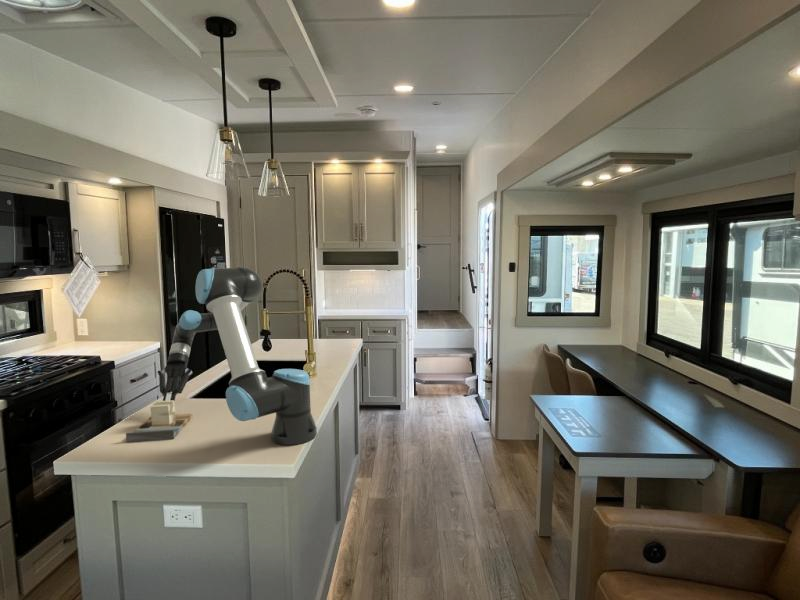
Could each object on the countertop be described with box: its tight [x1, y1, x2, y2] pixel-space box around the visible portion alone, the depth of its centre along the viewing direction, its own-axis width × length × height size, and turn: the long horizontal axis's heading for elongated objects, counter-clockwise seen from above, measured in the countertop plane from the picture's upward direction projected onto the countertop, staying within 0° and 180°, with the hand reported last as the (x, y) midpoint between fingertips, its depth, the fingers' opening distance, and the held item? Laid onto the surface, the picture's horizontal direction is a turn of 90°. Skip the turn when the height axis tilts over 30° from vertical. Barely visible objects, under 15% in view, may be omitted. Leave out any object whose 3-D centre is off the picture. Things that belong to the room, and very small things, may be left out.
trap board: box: [125, 413, 194, 443], centre depth 161 cm, size 20×15×3 cm
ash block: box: [150, 400, 176, 426], centre depth 164 cm, size 6×6×7 cm
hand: (166, 409), depth 168 cm, fingers closed
